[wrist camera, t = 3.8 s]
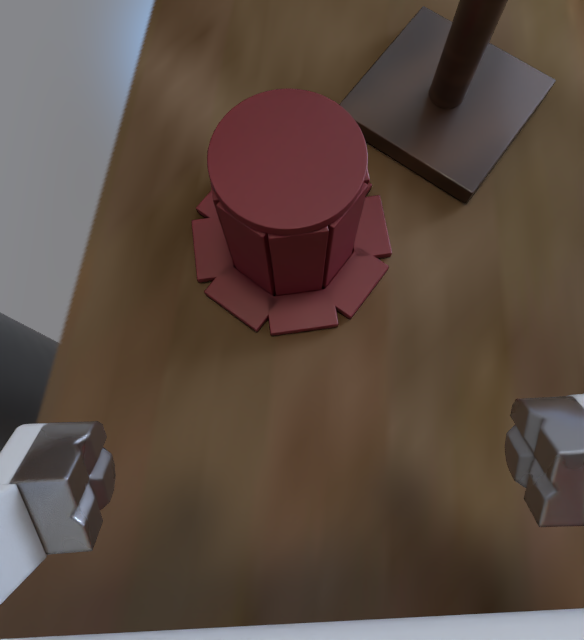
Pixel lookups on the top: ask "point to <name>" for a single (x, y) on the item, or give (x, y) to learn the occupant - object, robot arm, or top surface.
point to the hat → (289, 214)
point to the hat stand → (447, 97)
